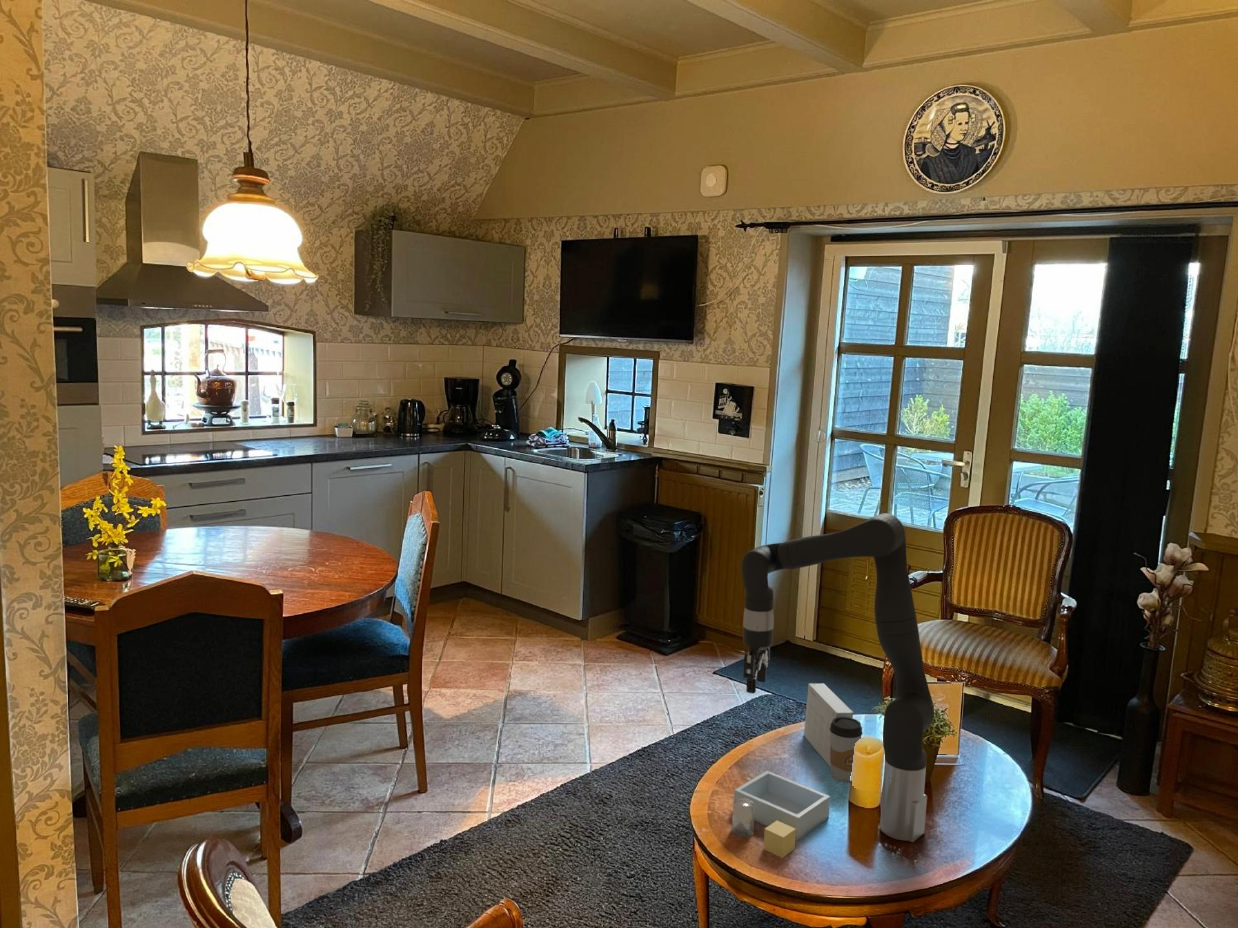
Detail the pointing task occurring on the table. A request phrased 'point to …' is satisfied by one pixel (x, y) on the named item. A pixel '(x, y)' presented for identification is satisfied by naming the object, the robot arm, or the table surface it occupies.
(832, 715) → the skincare box
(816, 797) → the tote
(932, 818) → the table surface
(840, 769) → the coffee cup
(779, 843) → the ochre cube
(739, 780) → the table surface
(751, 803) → the metal cylinder
